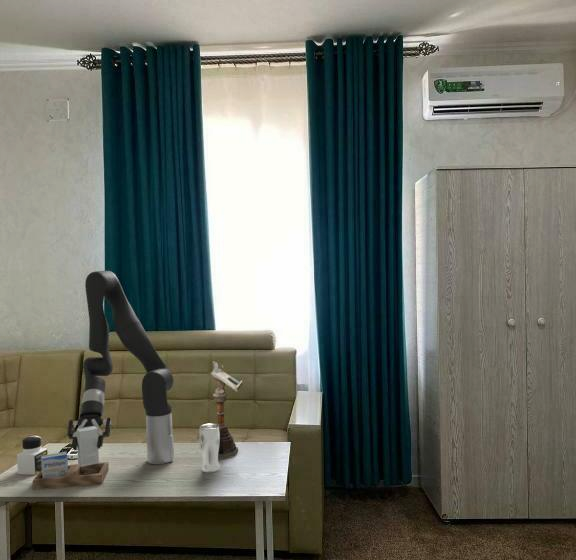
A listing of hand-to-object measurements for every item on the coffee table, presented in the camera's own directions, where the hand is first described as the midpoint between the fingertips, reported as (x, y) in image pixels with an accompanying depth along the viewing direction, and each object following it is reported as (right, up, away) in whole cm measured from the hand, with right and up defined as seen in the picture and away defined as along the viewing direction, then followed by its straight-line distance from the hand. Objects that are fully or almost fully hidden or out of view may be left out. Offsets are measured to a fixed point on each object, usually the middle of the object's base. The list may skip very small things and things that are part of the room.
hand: (86, 448), depth 184 cm
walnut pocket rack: (-5, -11, +1) cm, 12 cm away
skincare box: (0, -6, +2) cm, 6 cm away
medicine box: (-11, -11, 0) cm, 15 cm away
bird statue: (+45, -9, +23) cm, 51 cm away
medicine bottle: (-23, -11, +10) cm, 27 cm away
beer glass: (+41, -9, +6) cm, 42 cm away
